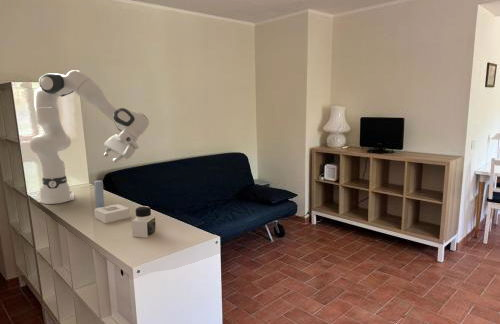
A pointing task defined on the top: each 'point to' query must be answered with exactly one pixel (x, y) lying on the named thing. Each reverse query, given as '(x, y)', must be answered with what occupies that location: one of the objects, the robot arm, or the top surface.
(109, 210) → the socket block
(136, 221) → the medicine bottle
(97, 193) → the peg
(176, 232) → the top surface
